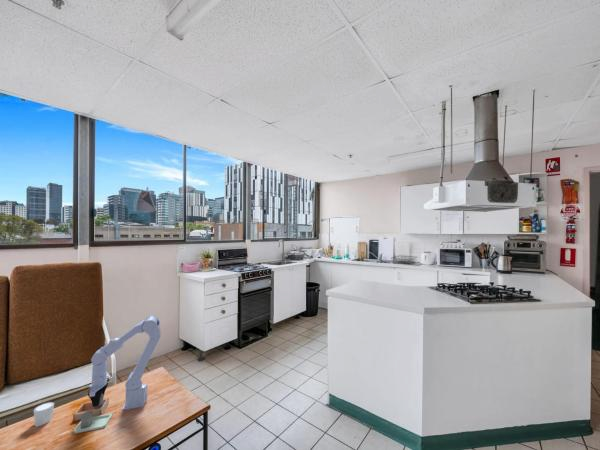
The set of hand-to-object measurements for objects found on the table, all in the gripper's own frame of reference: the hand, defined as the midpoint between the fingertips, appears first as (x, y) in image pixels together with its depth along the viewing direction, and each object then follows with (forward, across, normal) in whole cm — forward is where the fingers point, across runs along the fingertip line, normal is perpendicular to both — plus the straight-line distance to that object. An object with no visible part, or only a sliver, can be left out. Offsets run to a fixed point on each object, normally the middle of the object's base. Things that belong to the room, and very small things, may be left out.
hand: (97, 403), depth 125 cm
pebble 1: (+4, +10, -1) cm, 10 cm away
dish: (+4, 0, -2) cm, 5 cm away
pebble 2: (+2, 0, 0) cm, 2 cm away
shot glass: (+5, 0, -21) cm, 22 cm away
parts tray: (+4, +10, +2) cm, 11 cm away
